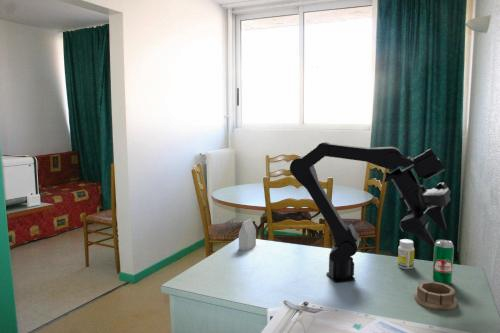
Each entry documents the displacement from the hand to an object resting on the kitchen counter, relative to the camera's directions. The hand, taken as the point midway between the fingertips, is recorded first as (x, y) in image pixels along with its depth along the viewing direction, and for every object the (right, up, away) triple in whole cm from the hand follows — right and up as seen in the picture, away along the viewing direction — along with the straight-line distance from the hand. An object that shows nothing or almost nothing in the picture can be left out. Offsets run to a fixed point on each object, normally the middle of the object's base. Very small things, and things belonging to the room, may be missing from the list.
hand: (439, 237), depth 110 cm
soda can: (+4, -14, +7) cm, 16 cm away
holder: (-3, -16, -5) cm, 17 cm away
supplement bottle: (-2, -13, +19) cm, 23 cm away
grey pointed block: (-53, -10, +39) cm, 66 cm away
